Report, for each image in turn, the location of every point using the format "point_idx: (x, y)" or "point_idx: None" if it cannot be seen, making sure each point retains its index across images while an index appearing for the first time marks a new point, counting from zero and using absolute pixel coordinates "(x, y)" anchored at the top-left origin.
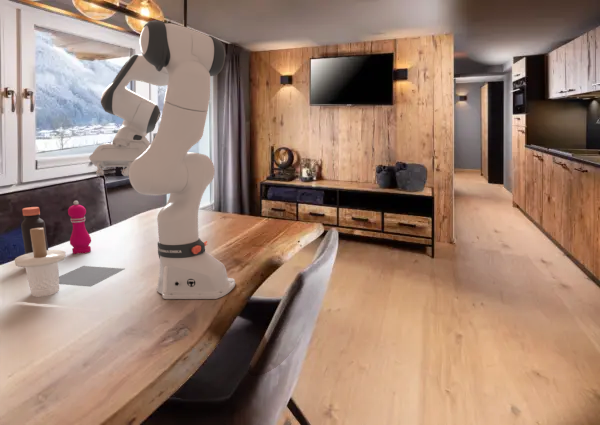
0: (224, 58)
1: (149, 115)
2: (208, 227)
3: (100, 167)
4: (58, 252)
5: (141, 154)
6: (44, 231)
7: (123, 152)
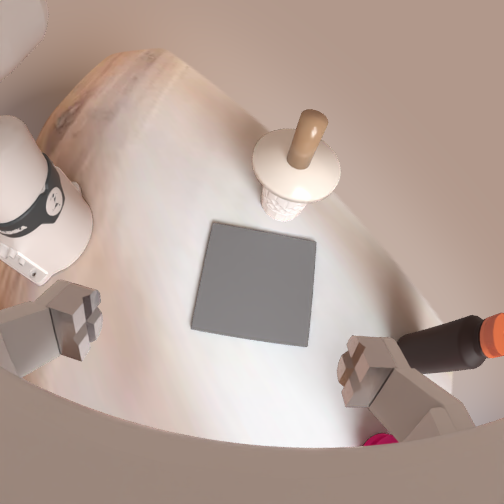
0: None
1: None
2: None
3: (409, 410)
4: (279, 180)
5: None
6: (441, 353)
7: None
